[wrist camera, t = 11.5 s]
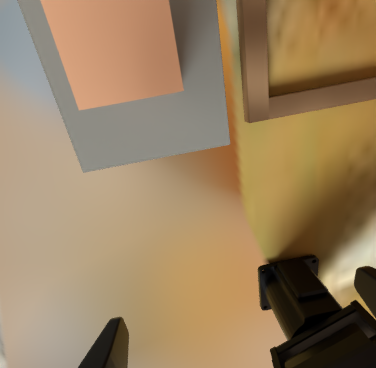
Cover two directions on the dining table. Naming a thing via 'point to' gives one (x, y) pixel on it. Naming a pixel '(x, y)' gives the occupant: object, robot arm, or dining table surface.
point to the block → (115, 49)
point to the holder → (258, 75)
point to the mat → (149, 107)
